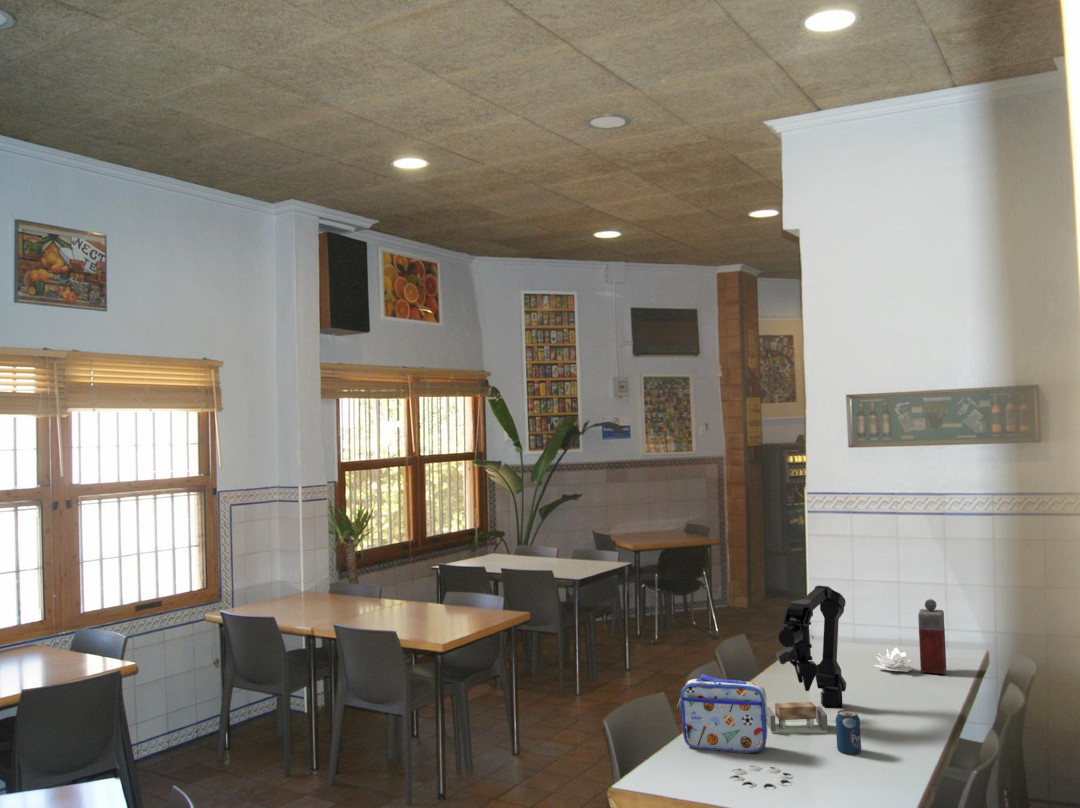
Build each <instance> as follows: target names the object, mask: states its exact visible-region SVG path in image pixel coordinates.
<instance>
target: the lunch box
mask: <svg viewBox="0 0 1080 808" xmlns="http://www.w3.org/2000/svg"><path fill="white" fill-rule="evenodd" d="M680 692H681V693H680V697H679V699H678V700H679V701H678V703H677V706H676V709H677V710H678V709H679V715H681V723H682V735H683V739H684V742H685V744H686V745H687V747H690V748H692V749H695V748H697V749H696V750H699V749H700V750H706V749H709V751H716V750H720V751H719V752H725V751H730V752H729V753H742V754H743V753H748V754H752V753H760V752H761V751H763V750H764V749H765V747H766V744H767V738H768V727H767V725H768V721H767V707H768V706H767V703H768V702H767V692H766V690H765V688H764V686H762V684H759V683H757V682H751V681H747V680H745V681H744V680H737V679H723V678H716V677H713V676H710V675H707V674H703V673H702V674H701V675H700V678H693V679H689V680H688V681H687V682H686V683H685V685H684V686H683V688H682V689H681V691H680Z"/></svg>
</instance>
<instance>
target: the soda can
mask: <svg viewBox="0 0 1080 808" xmlns="http://www.w3.org/2000/svg"><path fill="white" fill-rule="evenodd" d="M835 730H836V748H837V751H838V752H839V753H841V754H842V755H849V756H850V755H851V756H853V755H854V756H855V755H860V753H861V751H862V738H861V737H862V736H861V735H862V734H861V733H862V732H861V720H860V716H859V714H858V712H857V711H854V710H851V709H841V710H838V711H837V714H836V717H835Z"/></svg>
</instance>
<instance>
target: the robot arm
mask: <svg viewBox="0 0 1080 808" xmlns="http://www.w3.org/2000/svg"><path fill="white" fill-rule="evenodd" d="M818 606H819V610H820V612H821V614H822V616H823V618H824V620H823V640H822V641H823V642H822V660H821V661H820V662H819V663H816V662H815V661H813V656H812V652H811V651H812V650H811V649H812V648H813V645H812V643H811V636H810V625H812V622H811V620H812V617H813V616H814V612H813V611H814V610H815V609H816V608H817V607H818ZM845 606H846V599H845V597H844V596H843V595H842V593H840V592H838V591H835V590H834V589H833V588H831V587H830V586H829V585H828V586H827V585H816V586H815V587H814V589H813V590H812V591H810V592H809V593H808V594H807V595H806V596H804V597H803V598H802V599H798V600H793V601H790V602H789V603H788V606H787V607H786V610H785V614H784V619H783V629H781V631H780V632H779V633H778V641H779V643H780V644H781V645H782V646H783V647H785V648H783V649H781V650H778V651H776V652H775V656H776V658H777V660H778V662H779V663H780V664H781V665H786V663H788V662H789V663H790V664H791V665H792V666H793V667H794V671H795V674H796V677H797V681H798V682H799V683H800V684H801V683H803V687H804V690H805V692H809V691H810V689H811V687H812V684H813V682H814V679H815V682H816V685H817V689H821V691H820V704H821V705H822V707H824V709H845V707H844V705H843V693H844V692H846V690H847V681H846V680H845V679H844V677H843V676H842V669H841V666H840V664H839V662H838V644H839V643H838V642H839V641H838V640H839V619H840V618H841V617H842V616H843V614H844V612H845Z"/></svg>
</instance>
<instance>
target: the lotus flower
mask: <svg viewBox="0 0 1080 808" xmlns="http://www.w3.org/2000/svg"><path fill="white" fill-rule="evenodd" d="M878 655H879V656H880V657H879V656H877V655H876V656H875V657H876V659H877V660H878V663H879V664H874V665H873V666H874V667H876V668H880V669H883V670H887V671H892V672H908V673H909V671H912V670H913V668H914V667H912V666H909V665H906V664H907V663H909V662H911V660H912V659H909V660H907V654H906V652H905V651H904V652H901V651H900V650H899V648H898V647H894V648H893V650H891V649H890V650H889V648H886V654H885V655H881V654H880V653H878ZM906 660H907V661H906Z"/></svg>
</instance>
